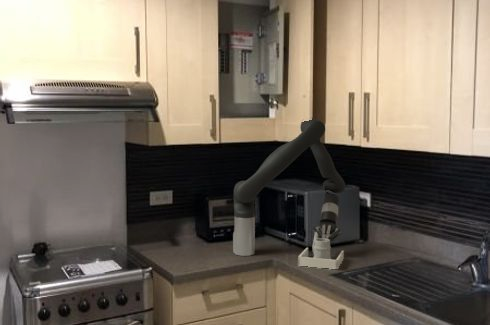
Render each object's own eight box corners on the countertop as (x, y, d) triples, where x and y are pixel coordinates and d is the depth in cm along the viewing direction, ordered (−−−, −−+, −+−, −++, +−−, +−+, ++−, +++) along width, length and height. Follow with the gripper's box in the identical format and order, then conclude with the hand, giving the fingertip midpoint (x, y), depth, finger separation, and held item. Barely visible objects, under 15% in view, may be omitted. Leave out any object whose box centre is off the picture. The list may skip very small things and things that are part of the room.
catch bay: (306, 256, 242) (306, 247, 242) (343, 259, 237) (343, 250, 237) (297, 266, 227) (298, 256, 226) (337, 270, 221) (337, 260, 221)
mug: (318, 265, 228) (319, 237, 227) (305, 258, 239) (306, 231, 238) (334, 263, 230) (334, 236, 229) (320, 256, 241) (321, 230, 240)
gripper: (313, 209, 247) (308, 241, 236) (343, 211, 242) (338, 244, 232) (316, 218, 252) (310, 250, 242) (344, 220, 248) (340, 253, 238)
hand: (324, 247), depth 237 cm, fingers closed
